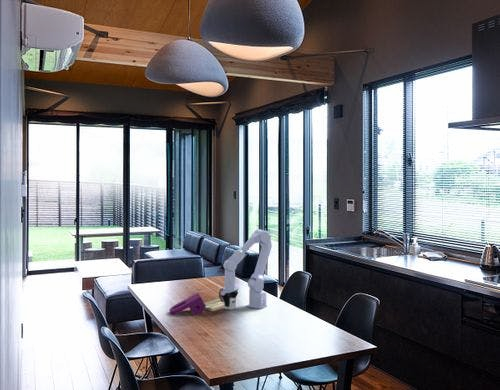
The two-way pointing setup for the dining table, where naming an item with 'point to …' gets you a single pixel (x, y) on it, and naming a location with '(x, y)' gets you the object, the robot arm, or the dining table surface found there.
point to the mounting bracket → (189, 305)
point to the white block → (231, 304)
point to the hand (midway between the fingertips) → (229, 305)
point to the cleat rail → (214, 305)
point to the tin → (220, 294)
